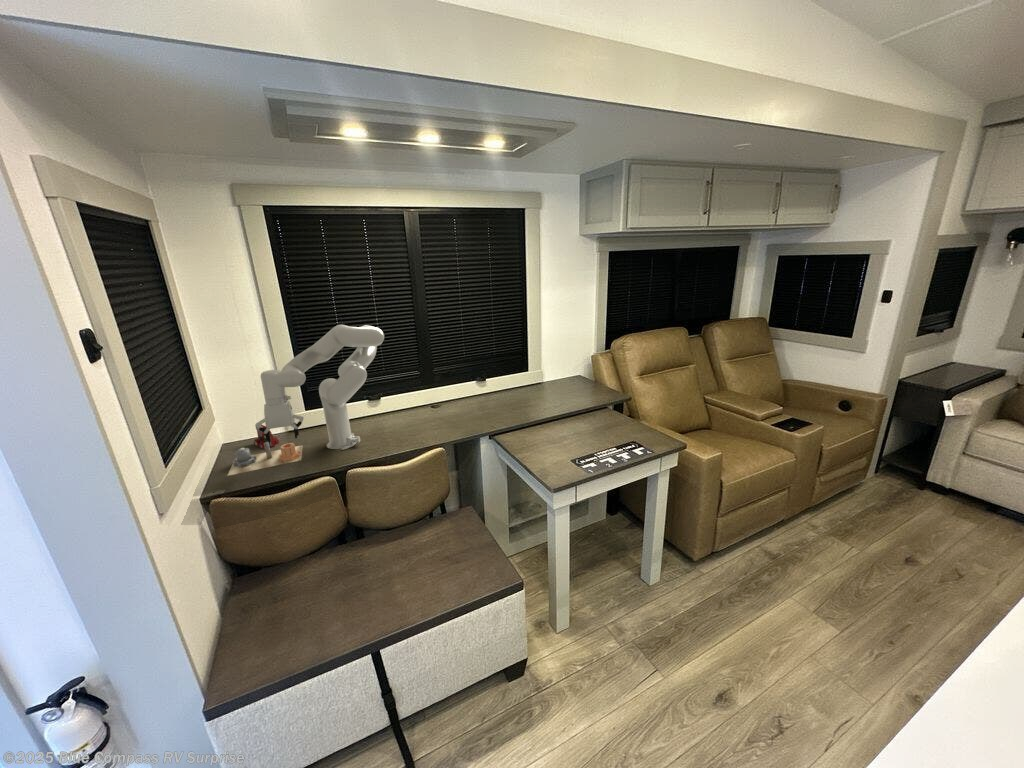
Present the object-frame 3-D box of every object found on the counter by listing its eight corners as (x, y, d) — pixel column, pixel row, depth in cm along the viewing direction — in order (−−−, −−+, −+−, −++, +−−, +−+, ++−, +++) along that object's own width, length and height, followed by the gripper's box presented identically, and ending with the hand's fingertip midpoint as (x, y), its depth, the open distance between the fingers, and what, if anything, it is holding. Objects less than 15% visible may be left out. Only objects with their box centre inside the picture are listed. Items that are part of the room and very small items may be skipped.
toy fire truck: (266, 452, 172) (261, 431, 169) (253, 446, 179) (247, 425, 176) (282, 446, 178) (277, 425, 175) (268, 440, 184) (264, 420, 181)
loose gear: (300, 451, 169) (298, 440, 167) (299, 459, 162) (297, 447, 161) (280, 455, 166) (277, 444, 164) (278, 463, 159) (275, 451, 158)
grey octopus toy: (257, 456, 166) (253, 442, 164) (254, 464, 159) (251, 450, 157) (236, 461, 163) (232, 447, 161) (232, 469, 156) (228, 454, 154)
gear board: (303, 447, 176) (299, 431, 173) (301, 462, 162) (298, 445, 160) (235, 461, 165) (230, 443, 163) (228, 478, 151) (222, 459, 149)
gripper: (300, 395, 163) (306, 432, 168) (252, 400, 156) (260, 439, 161) (299, 400, 157) (306, 438, 161) (249, 406, 149) (257, 446, 154)
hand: (283, 439), depth 161 cm, fingers open, 9 cm apart
